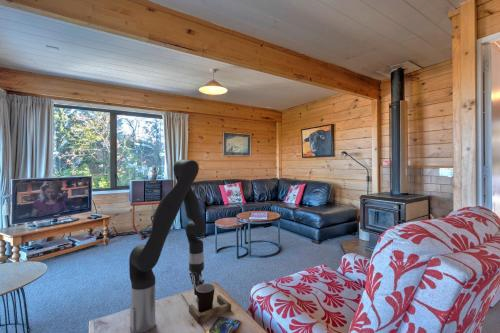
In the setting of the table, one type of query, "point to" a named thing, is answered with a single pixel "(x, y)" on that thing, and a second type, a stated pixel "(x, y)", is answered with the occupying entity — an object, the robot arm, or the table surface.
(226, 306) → the walnut corral
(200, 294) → the coffee mug
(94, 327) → the table surface
